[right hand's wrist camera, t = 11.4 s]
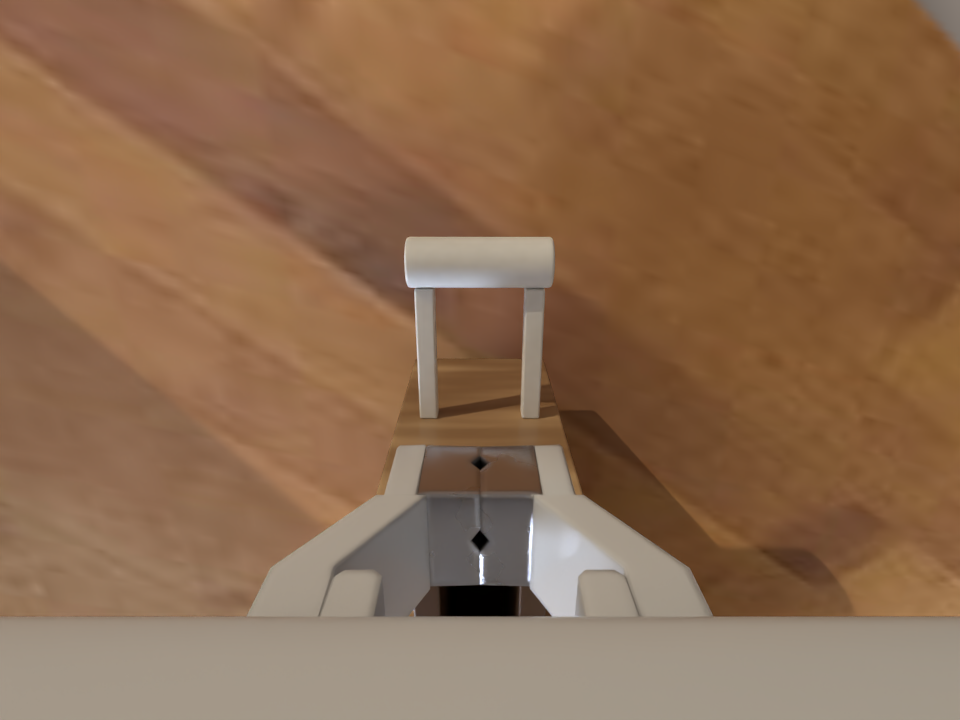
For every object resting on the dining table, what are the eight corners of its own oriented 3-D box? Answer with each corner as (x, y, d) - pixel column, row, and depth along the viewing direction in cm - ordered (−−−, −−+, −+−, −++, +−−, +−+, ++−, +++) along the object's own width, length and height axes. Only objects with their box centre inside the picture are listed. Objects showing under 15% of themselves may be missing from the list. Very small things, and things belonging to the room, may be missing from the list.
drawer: (408, 215, 21) (355, 270, 12) (550, 215, 21) (604, 270, 12) (429, 670, 30) (408, 899, 21) (529, 669, 30) (550, 899, 21)
